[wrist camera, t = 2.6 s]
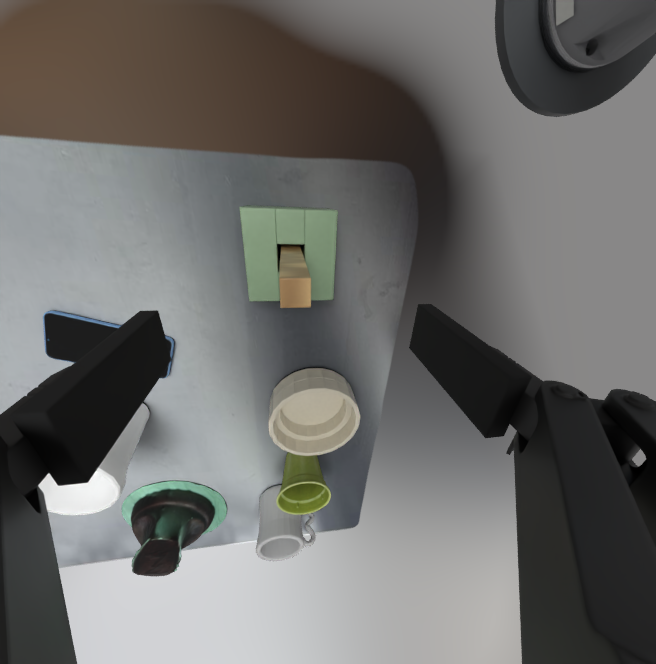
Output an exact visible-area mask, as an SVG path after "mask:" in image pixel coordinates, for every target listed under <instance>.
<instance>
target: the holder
mask: <svg viewBox="0 0 656 664" xmlns="http://www.w3.org/2000/svg"><path fill="white" fill-rule="evenodd" d="M337 216H338V211H337V210H333V209H329V208H303V207H302V208H301V207H276V206H250V205H247V206H243V207H240V217H241V227H242V236H243V246H244V255H245V265H246V274H247V284H248V294H249V301H279V300H280V286H279V273H280V261H279V250H278V244H301V245H302V253H303V256H304V259H305V262H306V265H307V268H308V271H309V274H310V277H311V300H333V295H334V276H335V256H336V236H337Z"/></svg>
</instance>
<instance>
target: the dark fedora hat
mask: <svg viewBox="0 0 656 664" xmlns="http://www.w3.org/2000/svg"><path fill="white" fill-rule="evenodd" d="M226 512H227V509H226V504H225V501H224V499H223V497H222V496H221V495H220V494H219V493H218V492H216V491H213V490H211V489H210V488H208V487H205V486H202V485H197V484H194V483H191V482H186V481H181V482H179V481H169V482H161V483H156V484H152V485H148V486H144V487H141V488H140V489H138V490H136V491H134V492H133V493H131V494H130V495H129V496H128V497H127V498H126V499H125V501H124V503H123V505H122V515H123V517H124V519H125V520H126V522H127V523H128V524H129V525H130V526H131V527H132V529H133V533H134V534H135V536H136V538H137V540H138V541H139V543H140V544H141V548H140V549H139V550H138V551H137V552H136V554H135V556H134V558H133V560H132V567H133V569H132V571H133V572H134V573H135V574H137V575H144V576H165V575H168V574H170V573H172V572H175V571H176V570H177V569H176V568H177V567H178V566H179V565H178V564H179V562H180V560H181V550H182V549H183V548H185V547H186V546H188V545H190V544H191V543H193V542H194V541H195V540H197V539H198V538H199V537H200V536H201V535H203V534H205V533H207V532H210V531H212V530H214V529H215V528H217V527H218V526H219V525H220V524H221V523H222V522H223V520H224V519H225V517H226Z"/></svg>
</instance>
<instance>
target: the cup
mask: <svg viewBox="0 0 656 664" xmlns="http://www.w3.org/2000/svg"><path fill="white" fill-rule="evenodd" d="M149 414H150V412H149V410H148V408H147V406H146V405H145V404H143V403H142V404H141V406H140V407H139V409H138V410H137V411H136V413H135V414H134V416H133V417H132V419H131V420H130V422H129V423H128V425H127V426H126V428H125V429H124V431H123V432H122V433H121V435H120V436H119V438H118V439H117V441H116V442H115V444H114V445H113V447H112V448H111V450H110V451H109V452H108V454H107V455H106V457H105V458H104V460H103V461H102V463H101V464H100V466H99V467H98V469H97V470H96V472H95V473H94V474H93V476H92V477H91V479H90V480H89V482H88V483H81V484H72V485H63V486H58V485H57V484H56V482H55V481H54V479H53V478H52V476H51V475H50V474H49V473H48V475H47V476H46V477H45V478H44V479H43V480H42V482H41V483H40V484H39V485H38V486H39V488H40V489H41V490H42V492H43V493H44V497H45V502H46V507H47V511H49V512H54V513H58V514H62V515H86V514H92V513H97V512H100V511H102V510H104V509H106V508H108V507H110V506H112V505H113V504H114V503H115V502H116V501H117V500H118V498H119V497H120V495H121V493H122V490H123V488H124V486H125V483H126V473H127V469H128V466H129V464H130V461H131V459H132V456H133V454H134V451H135V449H136V447H137V444H138V442H139V439H140V437H141V434H142V432H143V429H144V427H145V425H146V422H147V420H148V419H149Z"/></svg>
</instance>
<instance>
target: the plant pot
mask: <svg viewBox="0 0 656 664" xmlns="http://www.w3.org/2000/svg"><path fill="white" fill-rule="evenodd" d="M330 498H331V493H330V489H329V488H328V487H327V486H326V483H325V481H324V479H323V476H322V472H321V469H320V465H319V461H318V458H317V455H313V456H303V455H295V454H292V453H290V452H288V454H287V456H286V462H285V468H284V475H283V481H282V486H281V488H280V492H279V494H278V496H277V499H276V503H277V506H278V508H279V509H280V510H282V511H283V512H286V513H289V514H293V515H303V514H309V513H313V512H315V511H318V510H320V509H321V508H323V507H324V506H326V505H327V503H328V502H329V500H330Z"/></svg>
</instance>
